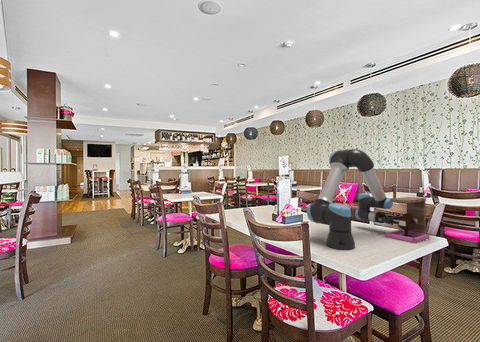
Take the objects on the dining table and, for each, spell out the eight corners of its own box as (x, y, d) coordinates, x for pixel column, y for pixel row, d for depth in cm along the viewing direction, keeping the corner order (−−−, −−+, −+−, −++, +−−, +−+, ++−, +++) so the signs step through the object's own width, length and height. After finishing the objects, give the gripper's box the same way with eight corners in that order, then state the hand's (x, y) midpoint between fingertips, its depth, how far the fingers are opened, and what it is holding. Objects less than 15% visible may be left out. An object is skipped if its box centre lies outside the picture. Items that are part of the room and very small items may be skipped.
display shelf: (410, 242, 141) (409, 200, 142) (391, 237, 151) (390, 198, 151) (428, 237, 151) (427, 198, 151) (408, 233, 161) (408, 196, 161)
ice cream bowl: (410, 234, 156) (409, 211, 156) (421, 239, 144) (420, 214, 144) (393, 234, 157) (392, 211, 157) (402, 239, 146) (401, 214, 146)
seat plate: (415, 243, 139) (414, 238, 139) (385, 236, 154) (385, 232, 154) (429, 238, 147) (429, 234, 147) (400, 233, 162) (399, 229, 162)
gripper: (388, 220, 173) (421, 226, 154) (366, 224, 161) (400, 231, 142) (387, 210, 173) (421, 214, 154) (366, 213, 161) (399, 218, 142)
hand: (411, 222), depth 148 cm, fingers open, 13 cm apart
